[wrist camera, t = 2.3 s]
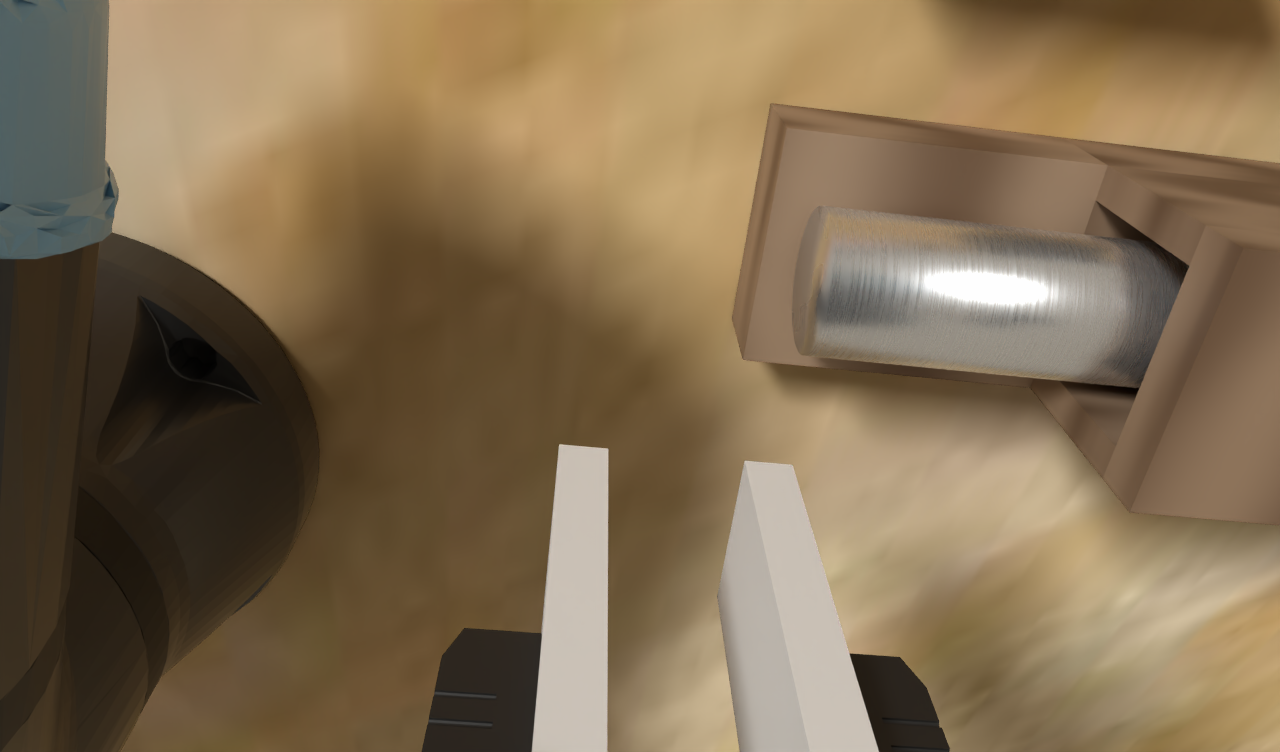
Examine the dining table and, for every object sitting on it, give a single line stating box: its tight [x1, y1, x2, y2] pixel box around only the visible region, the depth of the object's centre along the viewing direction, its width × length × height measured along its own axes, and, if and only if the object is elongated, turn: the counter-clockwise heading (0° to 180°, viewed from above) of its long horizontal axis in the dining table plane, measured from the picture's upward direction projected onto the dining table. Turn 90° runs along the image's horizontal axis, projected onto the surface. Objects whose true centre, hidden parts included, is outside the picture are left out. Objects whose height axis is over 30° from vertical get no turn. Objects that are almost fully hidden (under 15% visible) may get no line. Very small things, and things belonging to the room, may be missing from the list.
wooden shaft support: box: [732, 104, 1280, 525], centre depth 27 cm, size 19×7×10 cm, turn 83°
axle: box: [792, 206, 1189, 388], centre depth 27 cm, size 18×4×4 cm, turn 83°
